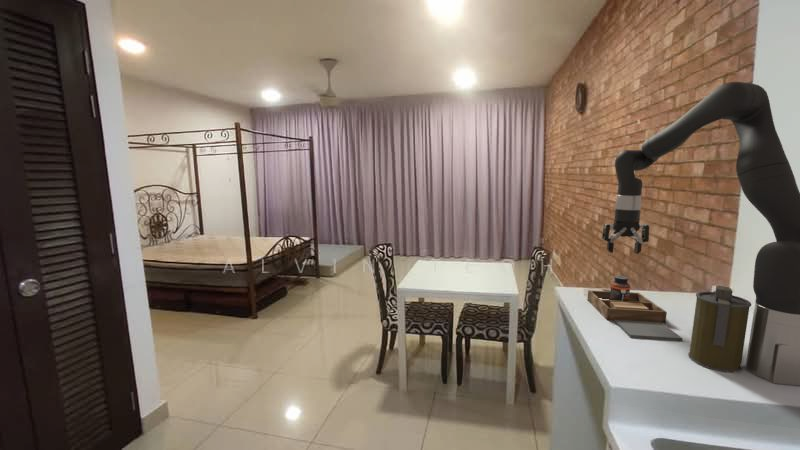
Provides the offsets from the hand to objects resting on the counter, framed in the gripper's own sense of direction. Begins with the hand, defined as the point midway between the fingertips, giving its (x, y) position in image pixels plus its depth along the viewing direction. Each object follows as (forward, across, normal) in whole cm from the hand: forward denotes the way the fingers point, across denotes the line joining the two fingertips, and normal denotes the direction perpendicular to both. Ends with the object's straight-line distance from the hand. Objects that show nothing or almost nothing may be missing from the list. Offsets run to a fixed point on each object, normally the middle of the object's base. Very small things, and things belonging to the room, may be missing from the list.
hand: (623, 252), depth 125 cm
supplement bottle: (+21, 0, 0) cm, 21 cm away
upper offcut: (+19, -1, -9) cm, 21 cm away
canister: (+20, +8, -37) cm, 43 cm away
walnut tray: (+20, 0, -4) cm, 21 cm away
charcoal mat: (+20, 0, -20) cm, 28 cm away
